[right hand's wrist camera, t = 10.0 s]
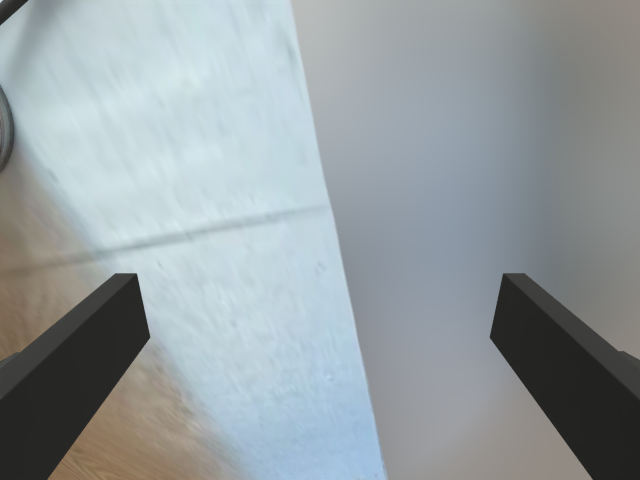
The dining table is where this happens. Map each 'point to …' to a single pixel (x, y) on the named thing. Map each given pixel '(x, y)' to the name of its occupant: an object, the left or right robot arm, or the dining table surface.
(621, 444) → the right robot arm
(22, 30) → the dining table surface
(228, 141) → the dining table surface
